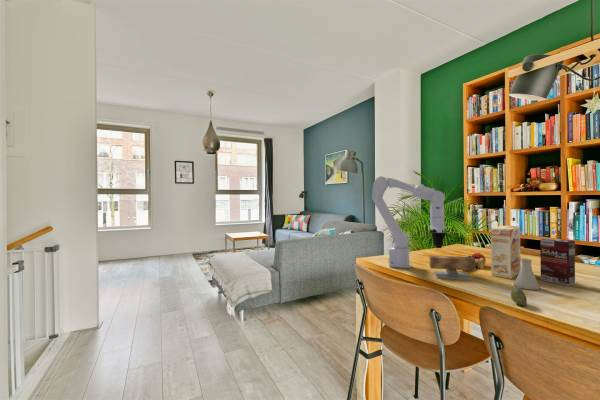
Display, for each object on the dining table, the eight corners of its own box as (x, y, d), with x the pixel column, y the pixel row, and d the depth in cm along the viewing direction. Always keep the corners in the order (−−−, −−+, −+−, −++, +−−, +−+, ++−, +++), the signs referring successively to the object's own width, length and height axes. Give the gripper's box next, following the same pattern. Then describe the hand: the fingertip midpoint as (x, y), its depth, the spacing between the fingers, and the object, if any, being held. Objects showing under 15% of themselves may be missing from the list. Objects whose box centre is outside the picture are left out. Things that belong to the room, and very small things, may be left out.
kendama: (476, 276, 117) (491, 263, 128) (472, 261, 117) (487, 250, 128) (457, 276, 123) (473, 263, 134) (453, 262, 123) (470, 251, 134)
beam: (431, 268, 114) (430, 257, 114) (429, 266, 117) (429, 255, 117) (475, 270, 109) (475, 259, 109) (472, 268, 112) (472, 257, 112)
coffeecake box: (511, 279, 107) (510, 229, 107) (490, 275, 113) (489, 228, 113) (521, 272, 117) (520, 226, 117) (501, 269, 122) (500, 225, 122)
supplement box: (539, 280, 105) (539, 238, 105) (547, 278, 107) (546, 237, 107) (569, 286, 97) (568, 241, 97) (576, 284, 99) (575, 240, 99)
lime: (524, 302, 84) (524, 285, 84) (533, 308, 79) (533, 291, 79) (507, 301, 85) (507, 285, 85) (515, 307, 81) (515, 290, 81)
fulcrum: (437, 278, 111) (437, 270, 111) (434, 272, 119) (433, 264, 119) (471, 280, 107) (471, 272, 107) (465, 274, 115) (465, 266, 115)
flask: (542, 291, 93) (541, 262, 93) (515, 288, 96) (514, 260, 96) (537, 285, 99) (537, 258, 99) (512, 283, 103) (511, 256, 103)
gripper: (449, 218, 118) (450, 249, 118) (444, 215, 131) (444, 244, 132) (431, 218, 120) (432, 249, 120) (428, 215, 134) (428, 243, 134)
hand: (437, 246), depth 126 cm, fingers open, 7 cm apart
